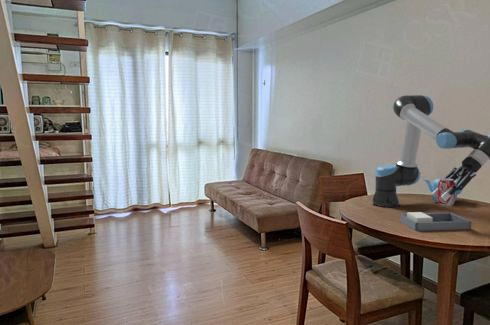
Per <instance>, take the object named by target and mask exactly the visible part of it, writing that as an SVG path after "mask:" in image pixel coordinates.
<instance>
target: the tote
mask: <svg viewBox="0 0 490 325" xmlns="http://www.w3.org/2000/svg"><path fill="white" fill-rule="evenodd" d="M423 213H424V214H426V215H428V216H430V217H432V218H433V220H432V222H420V223H417V222H415V221H413V220H411V219H410V218H408V217H407V213H400V214H399V222H401V223H402V224H404V225H406V226H407V227H408V228H411V230H413V231H415V232H417V231H418V232H422V231H423V232H424V231H451V230H452V231H454V230H455V231H456V230H461V231H462V230H471V229H472V220H468V219H466V218H463V217H462V216H460V215H457V214H455V213H453V212H434V213H433V212H428V213H427V212H426V213H425V212H423Z"/></svg>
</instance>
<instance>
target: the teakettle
mask: <svg viewBox="0 0 490 325" xmlns="http://www.w3.org/2000/svg"><path fill="white" fill-rule="evenodd" d="M440 179H441V178H436V179H434V181H433V182H432V184H431V181H430V180H429V179H427V178H423V179H422V180H423V181H425V182H426V183H427V188H428V189H429V191H430V192H431V195H432V196H431V197H432V199H431V200H433V201H434V203H438V197H437V198H436V197H435V196H434V195H433V194H432V193H433V192H434V191H435V190H436V189H437V188H438V182H439V181H440ZM456 181H457V179H456V180H455V181H454V182H455V183H456ZM463 189H464V188H463ZM463 189H462V190H458V191H456V192H455V202H456V201H457V198H458V195H460V194H461V193H462V191H463ZM438 204H439V203H438Z"/></svg>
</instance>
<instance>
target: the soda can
mask: <svg viewBox="0 0 490 325" xmlns="http://www.w3.org/2000/svg"><path fill="white" fill-rule="evenodd" d="M439 179H440V181H439V182H438V204H439V205H440V206H447V207H449V206H450V207H451V206H453V205H454V204H455V202H456V201H455V193H454V194H453V195H451V196H450V197H449V198H448V199H447V200H446V201H445V200H444V199H443V198H441V196H442V195H443V194H444V193H445V192H446V191H447V190H448V189H449V188H450V187H453V186H452V185H454V184H455V182H454V179H449V178H444V177H442V178H439Z"/></svg>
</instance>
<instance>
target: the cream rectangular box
mask: <svg viewBox="0 0 490 325" xmlns="http://www.w3.org/2000/svg"><path fill="white" fill-rule="evenodd" d="M424 213H425V212H421V211H415V212H412V211H411V212H410V211H409V212H406V214H407V217H408V218H410V219H411V220H413V221H415V222H417V223H420V222H432V220H433V218H432V217H430V216H428V215H426V214H424Z"/></svg>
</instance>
